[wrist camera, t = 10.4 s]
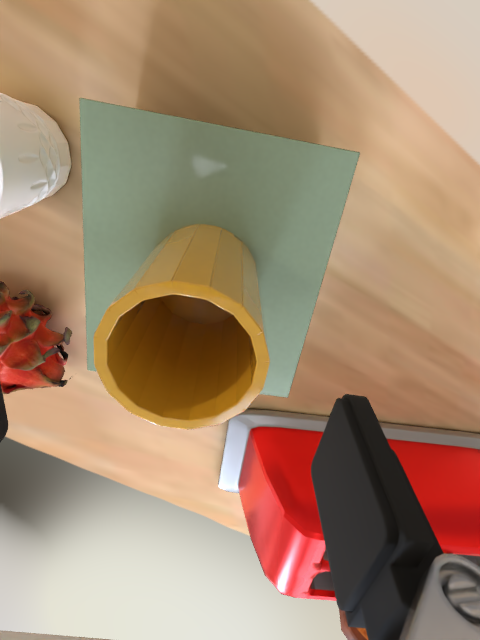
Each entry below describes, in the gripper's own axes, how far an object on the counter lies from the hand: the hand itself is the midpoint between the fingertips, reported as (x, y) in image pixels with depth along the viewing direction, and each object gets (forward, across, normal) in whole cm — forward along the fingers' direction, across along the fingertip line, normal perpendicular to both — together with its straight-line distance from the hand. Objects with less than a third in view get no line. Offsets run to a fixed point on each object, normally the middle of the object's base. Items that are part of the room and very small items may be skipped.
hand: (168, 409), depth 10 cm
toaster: (+22, -20, +25) cm, 39 cm away
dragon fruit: (+22, +16, +12) cm, 30 cm away
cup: (+12, 0, +1) cm, 12 cm away
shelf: (+22, 0, +1) cm, 22 cm away
